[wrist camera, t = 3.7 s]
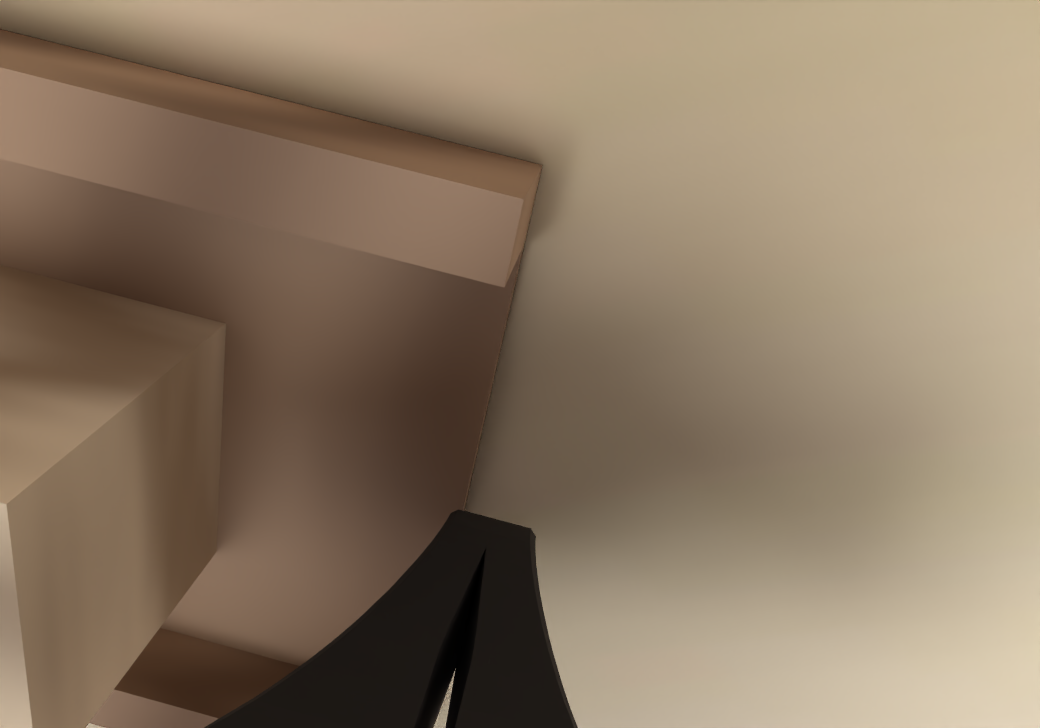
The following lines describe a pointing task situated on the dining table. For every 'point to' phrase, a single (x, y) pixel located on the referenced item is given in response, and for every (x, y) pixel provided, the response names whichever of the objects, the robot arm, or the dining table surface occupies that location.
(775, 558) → the dining table surface
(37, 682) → the maple block
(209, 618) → the walled channel
